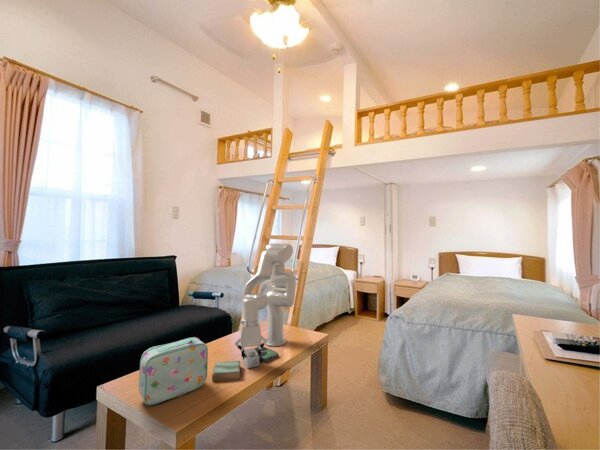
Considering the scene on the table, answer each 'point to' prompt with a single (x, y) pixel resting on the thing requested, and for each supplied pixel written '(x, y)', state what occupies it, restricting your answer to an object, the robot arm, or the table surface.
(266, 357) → the disk drive
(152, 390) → the lunch box
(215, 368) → the green and brown block
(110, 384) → the table surface
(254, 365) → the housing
